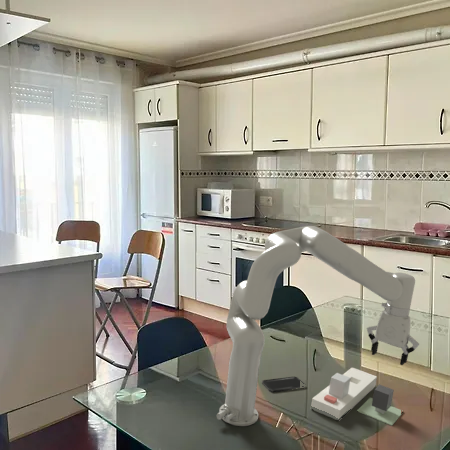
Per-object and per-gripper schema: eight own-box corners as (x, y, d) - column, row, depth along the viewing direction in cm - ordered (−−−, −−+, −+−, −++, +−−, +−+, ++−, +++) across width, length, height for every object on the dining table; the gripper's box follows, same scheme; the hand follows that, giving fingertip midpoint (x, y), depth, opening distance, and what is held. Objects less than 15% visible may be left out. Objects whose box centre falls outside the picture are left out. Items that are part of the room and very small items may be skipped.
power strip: (338, 421, 163) (340, 407, 162) (310, 409, 169) (312, 395, 168) (375, 386, 191) (377, 374, 190) (350, 376, 196) (352, 365, 195)
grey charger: (341, 403, 170) (344, 382, 169) (327, 398, 173) (330, 377, 172) (347, 398, 174) (350, 377, 173) (334, 393, 177) (337, 372, 176)
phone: (261, 380, 184) (295, 376, 191) (260, 383, 185) (295, 378, 191) (271, 391, 177) (307, 386, 184) (271, 393, 178) (306, 389, 184)
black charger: (385, 416, 169) (388, 394, 167) (370, 410, 172) (374, 389, 170) (390, 410, 173) (393, 389, 171) (376, 405, 176) (379, 384, 174)
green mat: (391, 425, 164) (392, 424, 164) (357, 411, 171) (357, 410, 171) (403, 412, 174) (403, 410, 174) (369, 398, 181) (370, 397, 181)
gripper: (367, 305, 168) (359, 353, 171) (420, 320, 158) (410, 371, 161) (375, 300, 174) (367, 347, 177) (427, 315, 164) (417, 364, 167)
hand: (388, 358), depth 169 cm, fingers open, 9 cm apart
